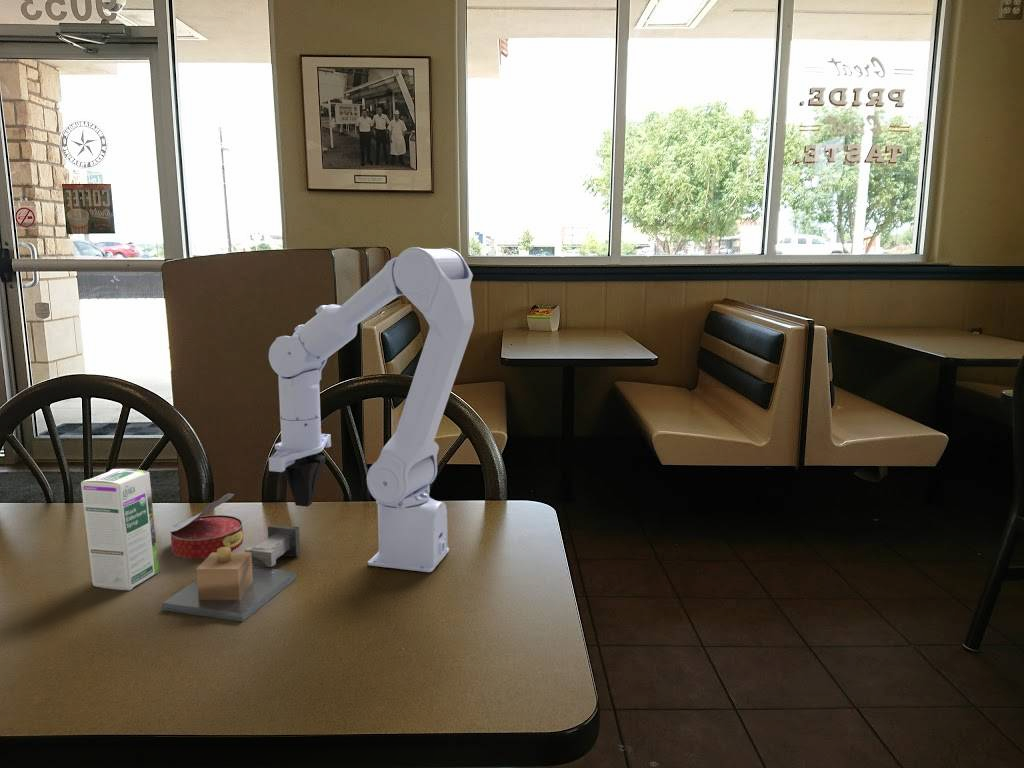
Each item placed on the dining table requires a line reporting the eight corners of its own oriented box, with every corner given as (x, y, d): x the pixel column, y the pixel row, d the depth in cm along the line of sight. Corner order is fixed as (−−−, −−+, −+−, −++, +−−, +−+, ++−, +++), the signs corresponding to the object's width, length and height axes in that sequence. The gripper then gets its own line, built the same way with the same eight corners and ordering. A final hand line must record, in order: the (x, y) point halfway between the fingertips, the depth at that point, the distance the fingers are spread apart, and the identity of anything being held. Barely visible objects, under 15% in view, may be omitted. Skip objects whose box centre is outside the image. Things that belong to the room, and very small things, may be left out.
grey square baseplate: (295, 578, 98) (295, 571, 98) (242, 621, 86) (242, 613, 86) (223, 569, 100) (222, 562, 100) (162, 610, 89) (161, 602, 89)
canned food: (199, 590, 105) (162, 542, 99) (179, 560, 112) (143, 513, 107) (268, 540, 109) (235, 492, 104) (244, 514, 117) (213, 468, 112)
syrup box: (130, 591, 94) (120, 482, 91) (90, 587, 95) (79, 479, 92) (159, 572, 99) (151, 469, 97) (121, 568, 100) (112, 466, 98)
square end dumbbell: (300, 553, 105) (298, 527, 105) (273, 573, 99) (272, 545, 98) (272, 550, 106) (271, 524, 106) (244, 570, 100) (242, 542, 99)
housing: (239, 599, 90) (237, 557, 89) (198, 599, 90) (195, 557, 89) (252, 581, 95) (250, 541, 94) (213, 581, 94) (211, 541, 94)
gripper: (301, 405, 116) (304, 487, 118) (247, 425, 102) (252, 518, 104) (342, 407, 114) (344, 491, 116) (293, 429, 100) (297, 523, 102)
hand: (303, 504), depth 110 cm, fingers closed
